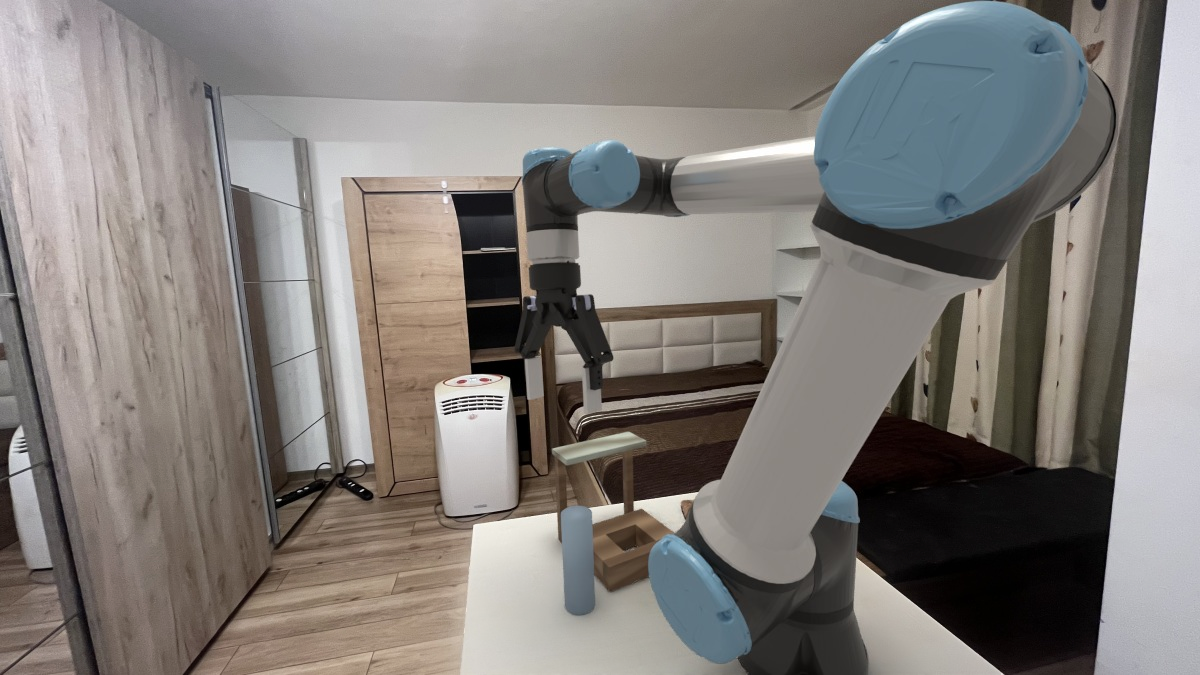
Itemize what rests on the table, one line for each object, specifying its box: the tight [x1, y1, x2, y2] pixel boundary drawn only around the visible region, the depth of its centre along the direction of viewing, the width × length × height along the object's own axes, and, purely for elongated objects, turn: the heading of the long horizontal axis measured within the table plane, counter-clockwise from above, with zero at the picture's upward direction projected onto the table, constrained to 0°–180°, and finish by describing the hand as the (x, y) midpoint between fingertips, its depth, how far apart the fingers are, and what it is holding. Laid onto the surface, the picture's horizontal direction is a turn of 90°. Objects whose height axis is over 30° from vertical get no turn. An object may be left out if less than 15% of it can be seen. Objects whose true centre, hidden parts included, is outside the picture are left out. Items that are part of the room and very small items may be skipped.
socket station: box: [551, 431, 675, 593], centre depth 80 cm, size 18×16×17 cm
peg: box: [561, 505, 596, 616], centre depth 67 cm, size 4×4×14 cm
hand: (562, 404), depth 71 cm, fingers open, 13 cm apart
